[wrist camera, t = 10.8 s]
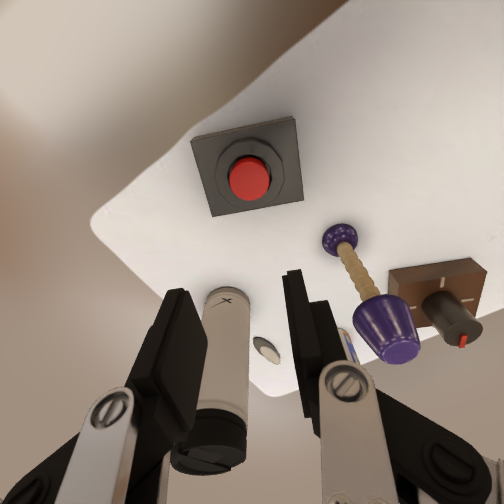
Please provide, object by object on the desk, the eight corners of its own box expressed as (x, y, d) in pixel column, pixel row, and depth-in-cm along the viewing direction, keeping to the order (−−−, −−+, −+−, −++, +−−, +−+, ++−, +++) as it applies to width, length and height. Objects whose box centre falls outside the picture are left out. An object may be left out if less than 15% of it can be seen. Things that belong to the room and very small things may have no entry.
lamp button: (264, 153, 26) (265, 157, 25) (271, 190, 28) (272, 196, 26) (226, 161, 27) (225, 165, 25) (235, 197, 28) (234, 204, 27)
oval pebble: (249, 338, 44) (248, 344, 43) (261, 332, 43) (261, 337, 42) (272, 362, 46) (272, 368, 45) (284, 356, 45) (284, 362, 44)
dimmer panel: (471, 257, 36) (488, 271, 33) (460, 305, 40) (475, 322, 37) (388, 269, 37) (399, 284, 34) (386, 315, 41) (395, 332, 38)
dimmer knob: (423, 293, 35) (448, 325, 30) (457, 288, 35) (488, 320, 30) (420, 317, 37) (443, 350, 32) (452, 313, 37) (480, 345, 32)
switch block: (292, 116, 28) (297, 120, 24) (301, 193, 32) (306, 207, 28) (193, 137, 29) (185, 144, 25) (214, 209, 33) (210, 224, 29)
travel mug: (220, 277, 38) (191, 440, 21) (259, 301, 40) (262, 467, 23) (195, 305, 40) (151, 471, 23) (233, 326, 42) (218, 493, 25)
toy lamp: (368, 233, 34) (449, 343, 20) (345, 263, 36) (403, 380, 22) (334, 217, 33) (394, 320, 19) (313, 248, 35) (352, 362, 21)
